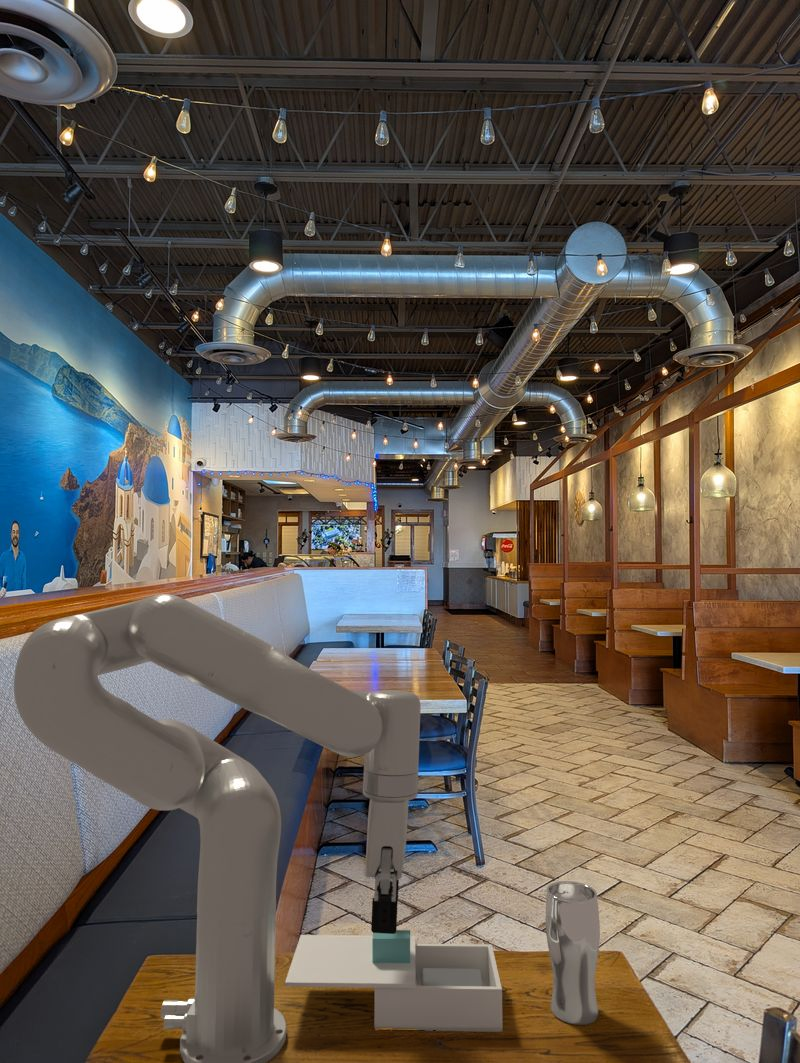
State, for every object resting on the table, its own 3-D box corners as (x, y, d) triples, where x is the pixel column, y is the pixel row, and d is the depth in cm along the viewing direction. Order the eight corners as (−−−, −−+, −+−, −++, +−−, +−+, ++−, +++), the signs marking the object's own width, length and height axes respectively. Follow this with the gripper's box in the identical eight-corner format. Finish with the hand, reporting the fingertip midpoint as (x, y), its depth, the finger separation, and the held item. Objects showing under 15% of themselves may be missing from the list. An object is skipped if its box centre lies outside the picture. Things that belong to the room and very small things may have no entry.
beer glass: (610, 1026, 85) (606, 902, 86) (555, 1028, 85) (553, 903, 86) (591, 994, 92) (588, 879, 93) (541, 996, 92) (539, 880, 93)
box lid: (284, 986, 84) (285, 957, 85) (300, 938, 96) (301, 912, 97) (415, 988, 84) (415, 958, 85) (415, 939, 96) (415, 913, 96)
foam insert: (422, 1014, 87) (422, 993, 87) (421, 987, 93) (421, 968, 93) (484, 1015, 87) (484, 994, 87) (479, 988, 92) (479, 968, 93)
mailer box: (374, 1030, 84) (374, 987, 85) (378, 980, 95) (378, 943, 96) (502, 1031, 84) (502, 989, 84) (492, 981, 95) (491, 944, 95)
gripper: (367, 767, 101) (362, 887, 99) (358, 799, 84) (351, 945, 82) (417, 769, 101) (413, 889, 99) (418, 802, 84) (413, 948, 82)
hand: (385, 914), depth 90 cm, fingers open, 9 cm apart
